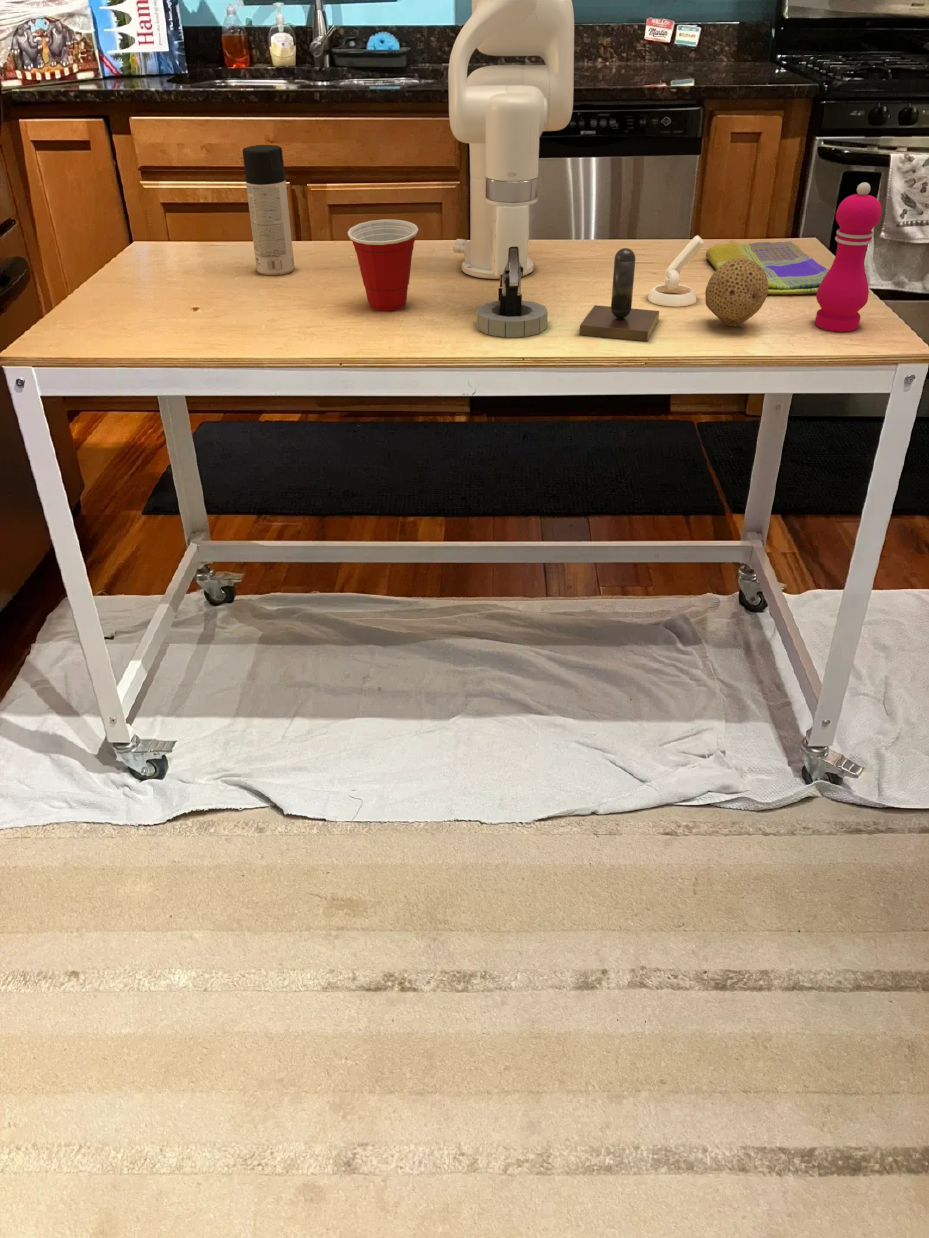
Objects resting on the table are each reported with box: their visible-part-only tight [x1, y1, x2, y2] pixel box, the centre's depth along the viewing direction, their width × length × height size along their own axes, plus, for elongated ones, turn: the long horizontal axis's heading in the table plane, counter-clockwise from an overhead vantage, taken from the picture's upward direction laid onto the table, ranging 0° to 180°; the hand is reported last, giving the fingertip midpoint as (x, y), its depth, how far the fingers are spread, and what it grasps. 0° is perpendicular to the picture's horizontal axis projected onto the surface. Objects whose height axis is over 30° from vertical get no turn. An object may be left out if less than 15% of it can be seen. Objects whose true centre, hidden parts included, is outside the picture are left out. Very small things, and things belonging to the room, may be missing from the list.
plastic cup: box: [347, 219, 419, 312], centre depth 158 cm, size 11×11×12 cm
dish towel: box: [705, 240, 830, 295], centre depth 173 cm, size 18×24×3 cm
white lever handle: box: [647, 234, 705, 308], centre depth 160 cm, size 8×12×7 cm
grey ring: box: [476, 299, 549, 339], centre depth 152 cm, size 10×10×2 cm
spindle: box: [579, 247, 660, 342], centre depth 148 cm, size 10×10×12 cm
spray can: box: [242, 144, 295, 276], centre depth 173 cm, size 7×7×20 cm
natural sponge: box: [704, 258, 768, 328], centre depth 148 cm, size 9×9×10 cm
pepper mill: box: [814, 182, 883, 333], centre depth 146 cm, size 7×7×20 cm
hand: (509, 316), depth 155 cm, fingers closed on grey ring, 2 cm apart
